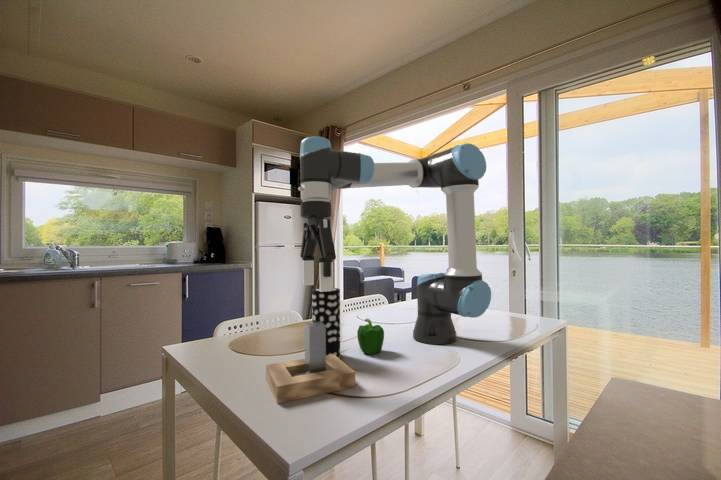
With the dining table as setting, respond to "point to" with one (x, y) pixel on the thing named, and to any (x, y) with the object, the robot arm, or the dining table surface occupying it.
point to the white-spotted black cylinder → (328, 317)
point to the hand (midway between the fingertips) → (316, 288)
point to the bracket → (314, 348)
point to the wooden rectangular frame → (308, 379)
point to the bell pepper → (370, 338)
